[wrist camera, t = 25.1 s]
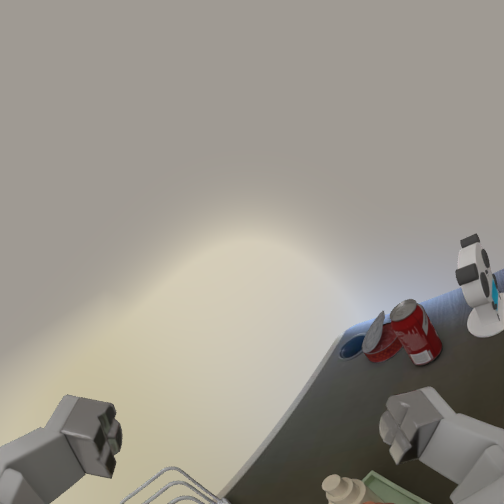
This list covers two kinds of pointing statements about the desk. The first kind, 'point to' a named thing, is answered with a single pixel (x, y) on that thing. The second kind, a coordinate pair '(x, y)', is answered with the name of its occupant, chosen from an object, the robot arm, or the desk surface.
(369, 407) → the desk surface
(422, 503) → the tray
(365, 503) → the terracotta bottle
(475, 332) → the panda figurine
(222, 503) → the file sorter
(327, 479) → the cream bottle
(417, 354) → the soda can
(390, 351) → the canned food
